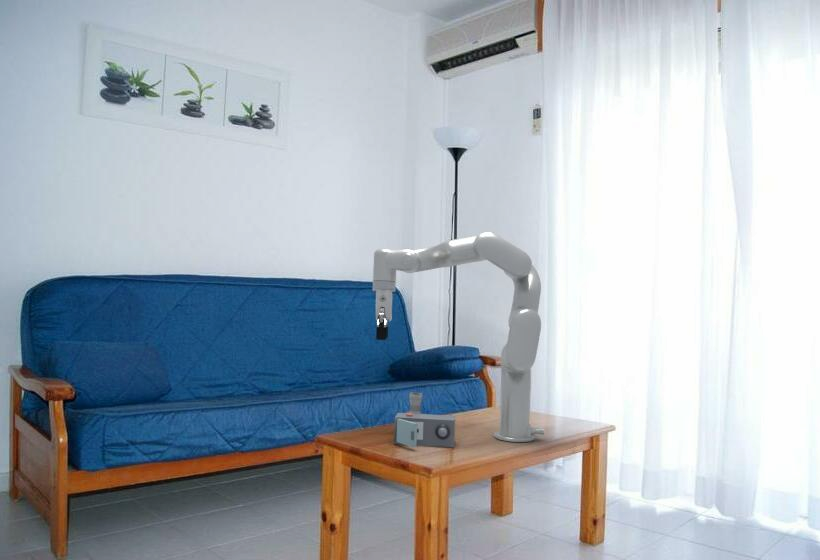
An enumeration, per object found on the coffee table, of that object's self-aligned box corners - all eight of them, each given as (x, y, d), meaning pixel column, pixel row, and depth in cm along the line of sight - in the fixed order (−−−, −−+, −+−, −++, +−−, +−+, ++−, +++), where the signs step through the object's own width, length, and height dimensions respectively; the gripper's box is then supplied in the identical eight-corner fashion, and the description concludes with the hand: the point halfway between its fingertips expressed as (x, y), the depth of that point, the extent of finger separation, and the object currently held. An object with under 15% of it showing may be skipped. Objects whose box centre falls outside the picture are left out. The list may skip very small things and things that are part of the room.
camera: (419, 391, 225) (448, 398, 213) (417, 425, 224) (447, 433, 213) (399, 392, 219) (428, 399, 207) (398, 427, 219) (427, 436, 207)
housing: (454, 441, 200) (455, 413, 200) (453, 448, 191) (454, 419, 191) (396, 438, 201) (397, 410, 202) (393, 444, 192) (394, 415, 193)
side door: (416, 447, 186) (417, 423, 186) (411, 447, 185) (412, 423, 185) (398, 441, 192) (399, 418, 193) (394, 442, 191) (395, 419, 191)
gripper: (394, 286, 203) (392, 341, 203) (396, 287, 221) (394, 337, 220) (370, 285, 203) (368, 340, 203) (374, 286, 221) (372, 337, 220)
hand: (382, 338), depth 212 cm, fingers open, 9 cm apart
